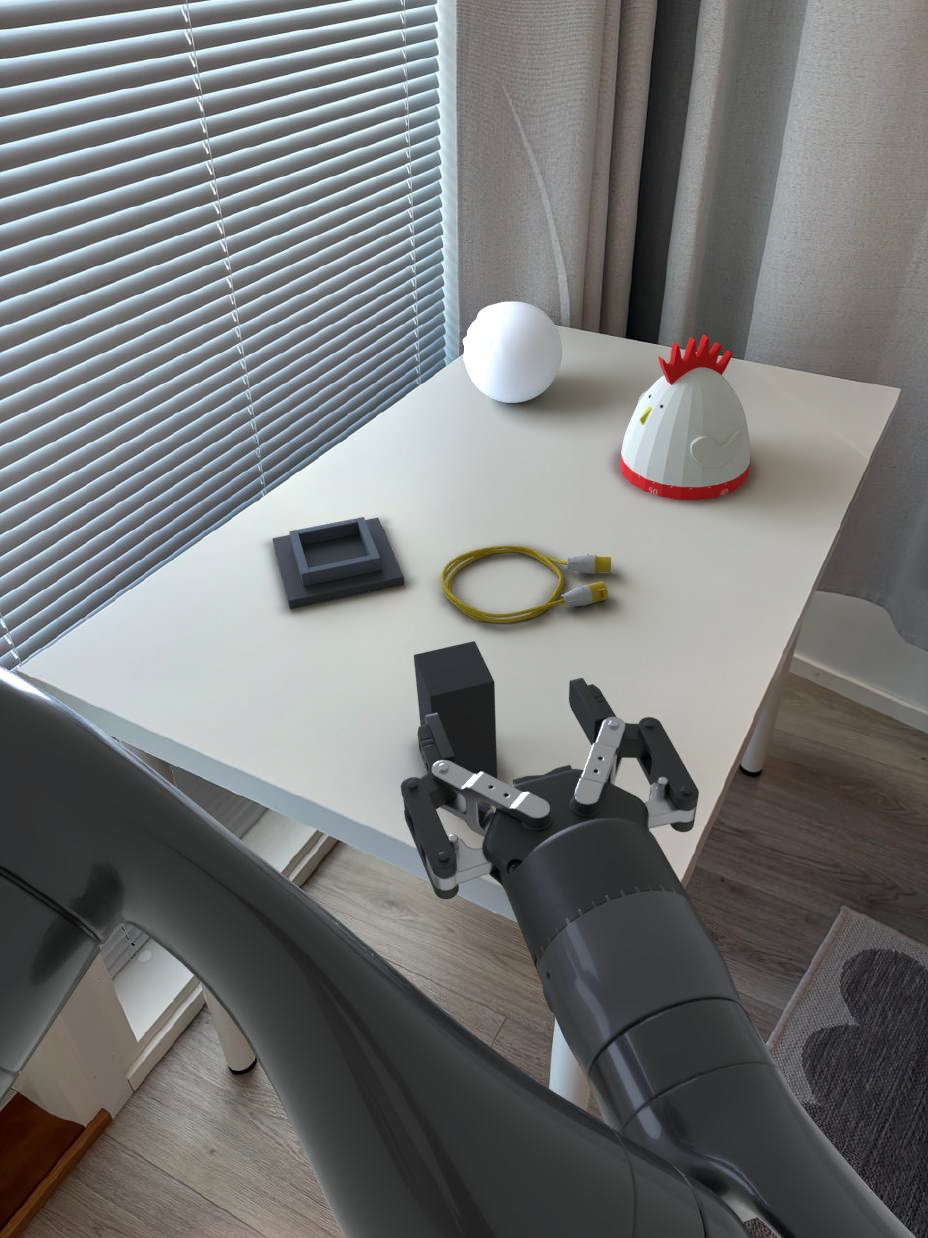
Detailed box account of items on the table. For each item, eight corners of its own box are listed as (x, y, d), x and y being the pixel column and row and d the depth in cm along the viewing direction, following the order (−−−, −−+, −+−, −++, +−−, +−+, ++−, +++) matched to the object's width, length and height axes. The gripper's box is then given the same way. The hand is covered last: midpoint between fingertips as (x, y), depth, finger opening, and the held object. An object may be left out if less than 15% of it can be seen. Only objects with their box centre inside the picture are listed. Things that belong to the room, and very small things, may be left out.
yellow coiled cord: (580, 650, 82) (581, 633, 81) (420, 606, 88) (418, 589, 87) (625, 573, 90) (627, 556, 89) (476, 537, 96) (475, 520, 95)
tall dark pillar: (438, 794, 70) (430, 696, 64) (422, 750, 74) (413, 654, 68) (497, 778, 71) (494, 681, 65) (479, 736, 75) (474, 640, 68)
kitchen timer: (599, 451, 109) (606, 323, 99) (705, 427, 112) (722, 302, 102) (658, 512, 98) (672, 377, 89) (773, 484, 102) (798, 351, 92)
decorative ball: (475, 374, 126) (472, 284, 118) (566, 379, 123) (568, 288, 116) (457, 417, 117) (452, 322, 109) (554, 422, 114) (556, 326, 107)
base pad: (290, 609, 88) (285, 588, 87) (273, 545, 97) (269, 525, 95) (404, 585, 90) (402, 564, 89) (379, 525, 99) (376, 504, 97)
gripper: (780, 856, 41) (623, 628, 53) (461, 950, 38) (373, 687, 50) (755, 953, 45) (616, 723, 57) (469, 1044, 43) (387, 782, 55)
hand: (503, 706), depth 54 cm, fingers open, 8 cm apart
